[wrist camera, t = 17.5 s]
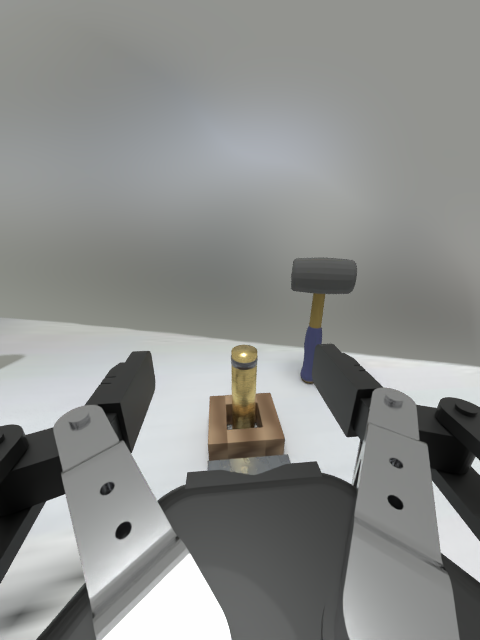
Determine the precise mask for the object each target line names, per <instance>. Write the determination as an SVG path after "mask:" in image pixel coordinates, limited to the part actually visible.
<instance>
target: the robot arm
mask: <svg viewBox="0 0 480 640" xmlns="http://www.w3.org/2000/svg"><path fill="white" fill-rule="evenodd" d="M312 379H313V383H314V385H315V386H316V388H317V389H318V391H319V393H320V394H321V396H322V398H323V399H324V401H325V403H326V404H327V406H328V408H329V409H330V411H331V412H332V414H333V416H334V417H335V419H336V421H337V422H338V424H339V426H340V427H341V429H342V430H343V432H344V434H345V435H346V437H356V436H358V437H359V438H360V443H359V447H358V453H357V458H356V463H355V468H354V474H353V479H352V484H350V483H348V482H346V481H344V480H342V479H340V478H337V477H335V476H332V475H329V474H325V473H321V471H320V468H319V466H318V464H317V461H315V462H304V463H292V464H285V465H282V466H279V467H276V468H274V469H271V470H268V471H265V472H263V473H260V474H257V475H249V474H243V473H237V472H232V471H226V470H210V471H198V472H187V479H186V485H183V486H180V487H178V488H176V489H174V490H172V491H170V492H169V493H167V494H166V495H164V496H163V497H162V498H160V499H159V500H158V501H157V500H156V498H155V496H154V494H153V493H152V491H151V489H150V487H149V485H148V484H147V482H146V480H145V478H144V476H143V475H142V473H141V471H140V469H139V467H138V466H137V464H136V462H135V460H134V458H133V456H132V455H131V453H132V451H133V448H134V445H135V443H136V440H137V437H138V435H139V432H140V429H141V426H142V424H143V421H144V418H145V416H146V413H147V410H148V407H149V405H150V402H151V399H152V397H153V394H154V391H155V375H154V369H153V362H152V356H151V353H150V351H135V352H132V353H131V354H130V356H129V357H128V359H127V360H126V362H125V363H119V364H118V365H116V366H115V367H113V368H112V369H111V370H110V371H109V372H108V374H107V375H106V377H105V378H104V379H103V381H102V382H101V385H99V386H98V388H97V389H96V390H95V392H94V393H93V395H92V396H91V397H90V399H89V400H88V401H87V403H86V404H85V406H81V407H78V408H75V409H73V410H71V411H69V412H67V413H66V414H64V415H63V416H62V417H61V418H59V420H58V421H57V422H56V423H55V425H54V427H53V428H50V429H46V430H43V431H39V432H35V433H32V434H28V435H25V433H24V431H23V429H22V427H20V426H19V425H5V426H0V583H1V581H2V580H3V578H4V576H5V574H6V572H7V571H8V569H9V567H10V565H11V563H12V562H13V560H14V558H15V556H16V554H17V553H18V551H19V549H20V547H21V545H22V544H23V542H24V540H25V538H26V536H27V535H28V533H29V531H30V529H31V527H32V526H33V524H34V522H35V520H36V518H37V517H38V515H39V513H40V511H41V509H42V508H43V506H44V504H45V502H46V501H48V500H50V499H53V498H56V497H58V496H61V495H64V494H66V498H67V503H68V507H69V511H70V516H71V520H72V525H73V529H74V533H75V538H76V542H77V546H78V551H79V555H80V560H81V564H82V568H83V573H84V577H85V581H86V582H85V583H84V585H83V586H82V587H81V588H80V589H79V590H78V592H77V593H76V594H75V595H74V596H73V597H72V599H71V600H70V601H69V602H68V603H67V604H66V606H65V607H64V608H63V609H62V610H61V611H60V613H59V614H58V615H57V616H56V617H55V618H54V620H53V621H52V622H51V623H50V624H49V625H48V627H47V628H46V629H45V630H44V631H43V632H42V634H41V635H40V636H39V637H38V638H37V639H36V640H480V583H479V582H478V581H477V580H476V579H474V578H473V577H472V576H470V575H469V574H468V573H466V572H465V571H464V570H463V569H461V568H460V567H459V566H457V565H456V564H455V563H454V562H452V561H451V560H450V559H448V558H447V557H446V556H444V555H443V554H442V553H441V552H440V543H439V535H438V527H437V519H436V511H435V502H434V494H433V486H432V481H433V482H434V483H435V485H436V486H437V487H438V488H439V490H440V491H441V492H442V494H443V495H444V496H445V497H446V499H447V500H448V501H449V502H450V504H451V505H452V506H453V508H454V509H455V510H456V511H457V513H458V514H459V515H460V517H461V518H462V519H463V520H464V522H465V523H466V524H467V526H468V527H469V528H470V529H471V531H472V532H473V533H474V535H475V536H476V537H477V538H478V540H479V541H480V475H479V474H478V473H477V472H476V471H475V470H474V469H473V468H472V467H471V464H472V462H473V461H474V459H475V457H477V458H478V459H479V460H480V407H478V406H476V405H474V404H472V403H470V402H468V401H465V400H462V399H458V398H451V397H447V398H442V399H441V400H440V402H439V404H438V407H437V408H433V407H427V406H420V405H416V404H415V402H414V401H413V400H412V399H411V398H410V397H409V396H407V395H406V394H404V393H402V392H400V391H397V390H394V389H391V388H383V387H382V386H381V385H380V384H379V383H378V382H377V381H376V380H375V379H374V378H373V377H372V376H371V375H370V374H369V373H368V372H367V371H365V369H364V368H363V367H362V366H360V364H359V363H358V362H357V361H356V360H355V359H354V358H352V357H350V356H348V355H347V354H345V353H341V352H340V351H339V349H338V348H337V347H336V346H335V345H334V344H317V345H316V347H315V352H314V359H313V366H312Z"/></svg>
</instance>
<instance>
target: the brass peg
mask: <svg viewBox="0 0 480 640" xmlns="http://www.w3.org/2000/svg"><path fill="white" fill-rule="evenodd" d="M231 364H232V430H234V429H248V428H254V425H255V398H256V372H257V349H256V348H255V347H253V346H250V345H239V346H236V347H234V348H233V349H232V355H231Z"/></svg>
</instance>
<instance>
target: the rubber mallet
mask: <svg viewBox="0 0 480 640" xmlns="http://www.w3.org/2000/svg"><path fill="white" fill-rule="evenodd" d="M356 276H357V266H356V263H355V262H354V261H353V260H347V259H336V258H298V259H295V260H294V261H293V268H292V275H291V280H292V281H291V289H292V290H293V291H299V292H307V293H314V294H313V301H312V309H311V317H310V323H309V327H308V329H307V332H306V337H305V343H304V361H303V367H302V370H301V377H302V379H303V381H304V382H307V383H312V382H313V379H312V366H313V359H314V352H315V347H316V345H317V344H321V343H322V328H321V323H322V315H323V307H324V299H325V294H348V293H350V292H351V291H352V290H353V289H354V286H355V282H356Z"/></svg>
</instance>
